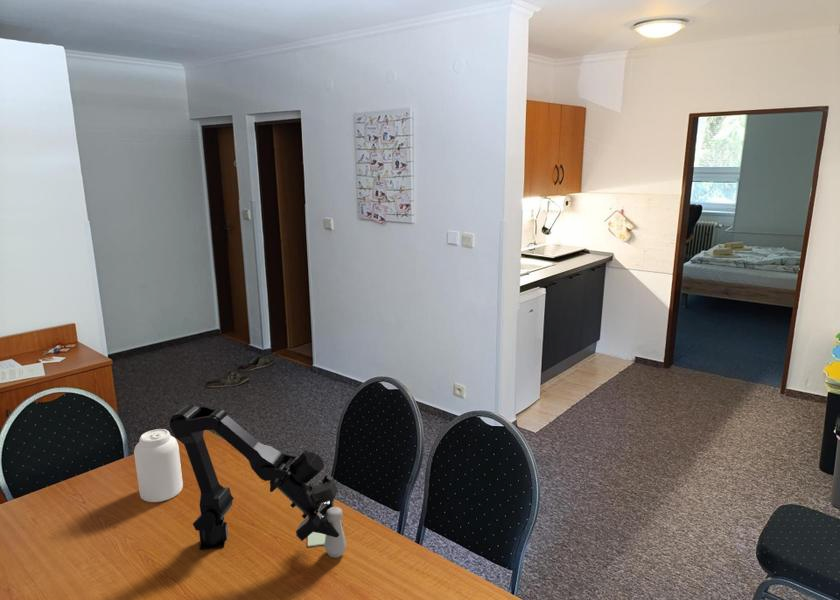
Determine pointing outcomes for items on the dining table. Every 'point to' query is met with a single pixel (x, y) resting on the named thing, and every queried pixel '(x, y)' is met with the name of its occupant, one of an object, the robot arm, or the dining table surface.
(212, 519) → the robot arm
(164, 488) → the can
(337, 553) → the salt shaker
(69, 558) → the dining table surface
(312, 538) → the pad
